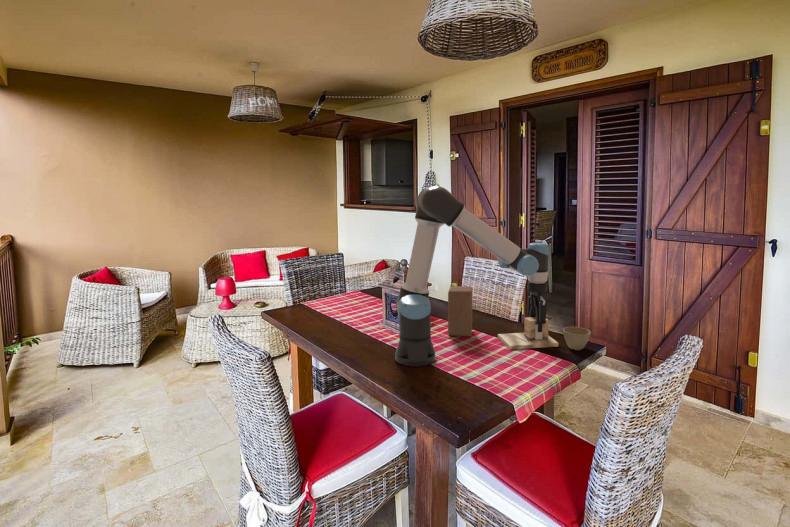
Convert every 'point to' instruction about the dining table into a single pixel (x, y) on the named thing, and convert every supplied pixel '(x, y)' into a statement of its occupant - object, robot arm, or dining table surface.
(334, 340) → the dining table surface
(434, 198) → the robot arm
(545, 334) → the sanding block
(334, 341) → the dining table surface
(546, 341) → the board
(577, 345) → the flower pot
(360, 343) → the dining table surface
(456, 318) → the wooden block
